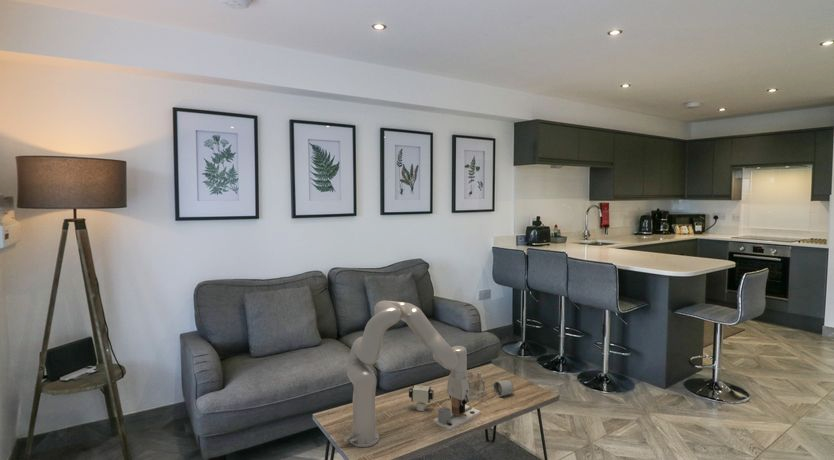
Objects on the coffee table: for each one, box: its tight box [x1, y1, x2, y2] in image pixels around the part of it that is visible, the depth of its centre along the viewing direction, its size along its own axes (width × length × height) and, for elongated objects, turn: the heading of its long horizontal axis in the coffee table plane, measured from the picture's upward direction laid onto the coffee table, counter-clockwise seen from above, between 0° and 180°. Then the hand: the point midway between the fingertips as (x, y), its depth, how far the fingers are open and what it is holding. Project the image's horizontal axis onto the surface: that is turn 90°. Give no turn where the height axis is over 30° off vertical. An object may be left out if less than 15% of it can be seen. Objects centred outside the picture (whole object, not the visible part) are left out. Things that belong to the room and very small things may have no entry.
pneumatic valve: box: [408, 384, 435, 412], centre depth 222 cm, size 6×12×12 cm, turn 78°
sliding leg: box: [451, 397, 467, 416], centre depth 212 cm, size 5×7×8 cm
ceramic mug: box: [493, 379, 514, 397], centre depth 239 cm, size 11×8×8 cm
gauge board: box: [432, 404, 482, 431], centre depth 213 cm, size 22×10×7 cm, turn 134°
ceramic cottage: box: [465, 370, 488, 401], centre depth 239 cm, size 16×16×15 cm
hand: (458, 410), depth 213 cm, fingers closed on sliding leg, 4 cm apart
